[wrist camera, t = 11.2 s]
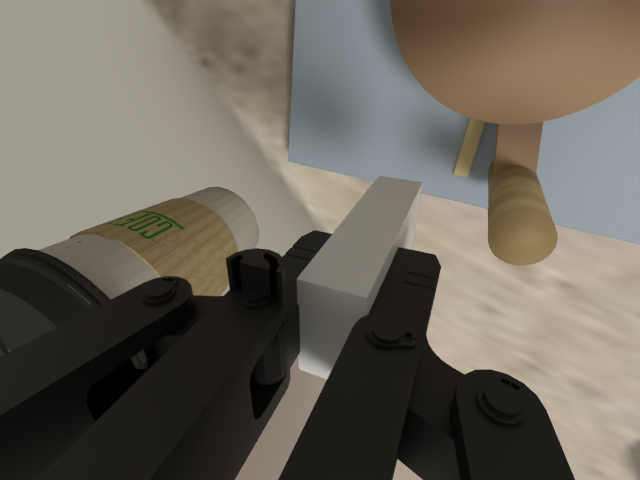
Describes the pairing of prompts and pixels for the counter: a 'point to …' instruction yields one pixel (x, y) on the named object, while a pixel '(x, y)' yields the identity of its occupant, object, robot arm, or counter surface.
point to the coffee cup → (123, 262)
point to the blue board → (446, 126)
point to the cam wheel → (519, 86)
